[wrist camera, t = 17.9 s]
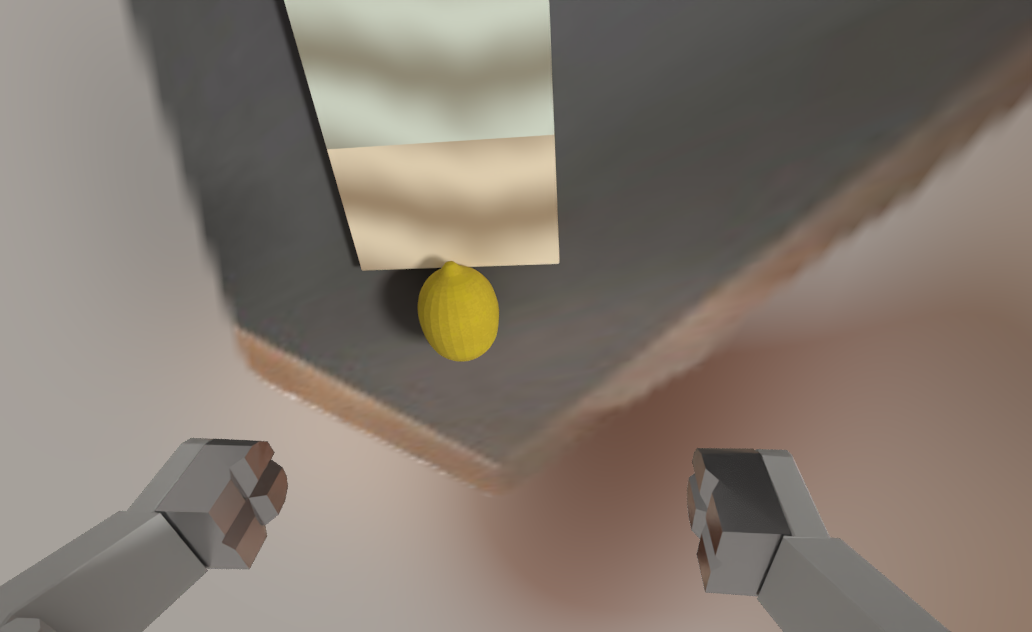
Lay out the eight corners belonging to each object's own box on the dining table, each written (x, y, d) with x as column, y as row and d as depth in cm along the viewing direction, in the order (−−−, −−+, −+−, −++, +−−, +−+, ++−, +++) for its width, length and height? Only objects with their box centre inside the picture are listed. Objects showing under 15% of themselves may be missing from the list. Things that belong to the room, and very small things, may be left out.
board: (288, -16, 27) (279, -16, 26) (547, -43, 25) (546, -44, 24) (366, 263, 36) (361, 270, 35) (559, 256, 35) (559, 263, 34)
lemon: (400, 255, 34) (424, 347, 38) (415, 291, 30) (439, 391, 34) (477, 236, 35) (491, 328, 40) (502, 269, 31) (515, 368, 35)
